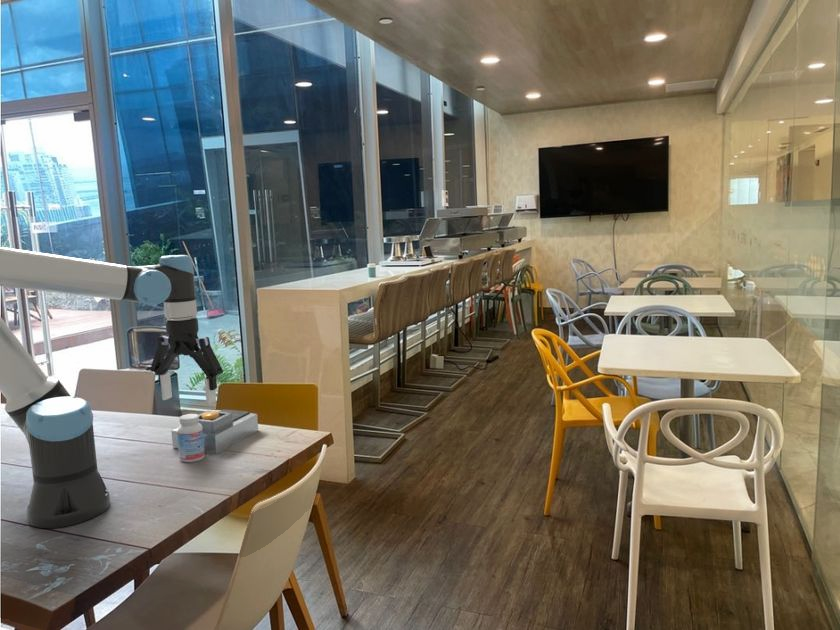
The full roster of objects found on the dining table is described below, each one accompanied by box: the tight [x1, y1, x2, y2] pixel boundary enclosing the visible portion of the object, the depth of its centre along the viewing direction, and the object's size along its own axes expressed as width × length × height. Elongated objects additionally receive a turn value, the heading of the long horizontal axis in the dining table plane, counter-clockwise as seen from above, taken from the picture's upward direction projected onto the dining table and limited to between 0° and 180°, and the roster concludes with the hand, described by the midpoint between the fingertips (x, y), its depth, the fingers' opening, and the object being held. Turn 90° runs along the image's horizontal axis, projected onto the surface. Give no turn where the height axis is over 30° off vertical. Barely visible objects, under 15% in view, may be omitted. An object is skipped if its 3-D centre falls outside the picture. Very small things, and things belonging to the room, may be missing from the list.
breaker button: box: [201, 412, 219, 421], centre depth 167 cm, size 4×4×8 cm
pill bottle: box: [177, 413, 205, 463], centre depth 157 cm, size 6×6×11 cm
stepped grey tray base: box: [171, 409, 259, 455], centre depth 171 cm, size 19×14×8 cm
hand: (189, 400), depth 156 cm, fingers open, 13 cm apart
